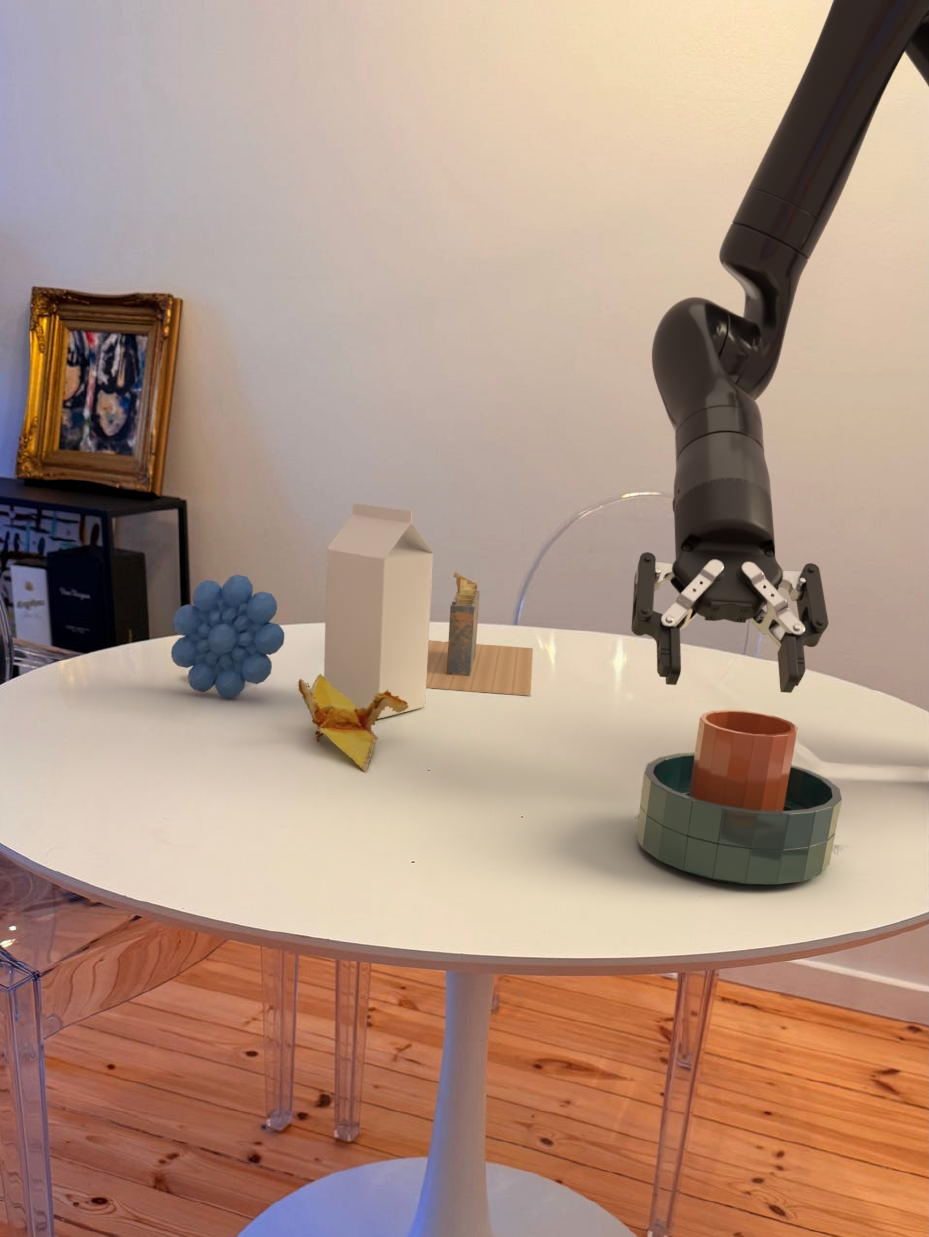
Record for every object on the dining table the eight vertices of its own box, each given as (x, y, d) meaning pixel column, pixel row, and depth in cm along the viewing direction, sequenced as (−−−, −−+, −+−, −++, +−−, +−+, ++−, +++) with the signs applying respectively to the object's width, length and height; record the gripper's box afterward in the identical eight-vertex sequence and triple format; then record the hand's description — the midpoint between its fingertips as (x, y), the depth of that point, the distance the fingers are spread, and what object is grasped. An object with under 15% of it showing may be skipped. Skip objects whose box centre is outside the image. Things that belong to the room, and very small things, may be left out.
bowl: (789, 824, 87) (801, 755, 85) (857, 895, 75) (873, 817, 73) (619, 818, 86) (627, 748, 84) (660, 889, 74) (671, 809, 72)
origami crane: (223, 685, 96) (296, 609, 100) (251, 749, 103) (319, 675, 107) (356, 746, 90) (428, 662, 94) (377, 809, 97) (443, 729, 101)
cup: (759, 831, 84) (778, 712, 80) (788, 865, 78) (811, 737, 75) (673, 828, 83) (690, 708, 80) (696, 862, 77) (715, 733, 74)
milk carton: (377, 721, 107) (386, 512, 101) (322, 705, 111) (327, 503, 104) (425, 708, 113) (436, 509, 106) (371, 694, 116) (378, 501, 110)
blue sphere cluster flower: (300, 695, 114) (302, 574, 110) (273, 711, 108) (274, 583, 104) (193, 681, 117) (191, 562, 113) (160, 696, 111) (157, 570, 106)
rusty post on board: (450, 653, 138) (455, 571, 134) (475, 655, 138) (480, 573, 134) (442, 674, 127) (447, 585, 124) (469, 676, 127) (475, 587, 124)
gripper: (641, 468, 87) (644, 648, 80) (827, 480, 87) (846, 661, 80) (624, 532, 94) (626, 703, 87) (797, 543, 94) (812, 715, 87)
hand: (731, 683), depth 84 cm, fingers open, 8 cm apart
